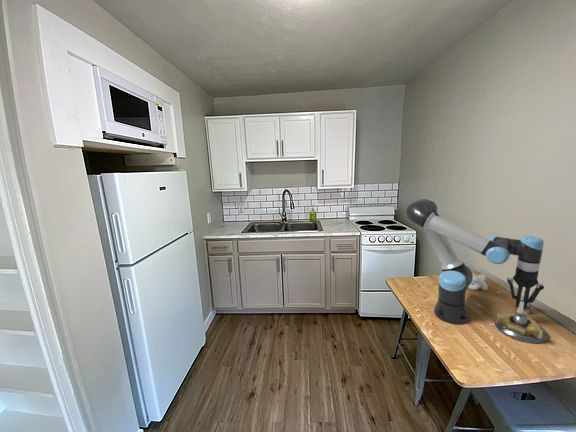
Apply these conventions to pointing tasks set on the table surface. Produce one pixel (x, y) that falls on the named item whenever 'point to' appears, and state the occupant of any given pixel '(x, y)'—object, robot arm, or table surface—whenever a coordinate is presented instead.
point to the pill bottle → (527, 304)
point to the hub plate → (518, 336)
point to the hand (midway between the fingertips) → (519, 312)
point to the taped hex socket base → (528, 331)
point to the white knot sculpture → (478, 282)
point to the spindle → (520, 319)
